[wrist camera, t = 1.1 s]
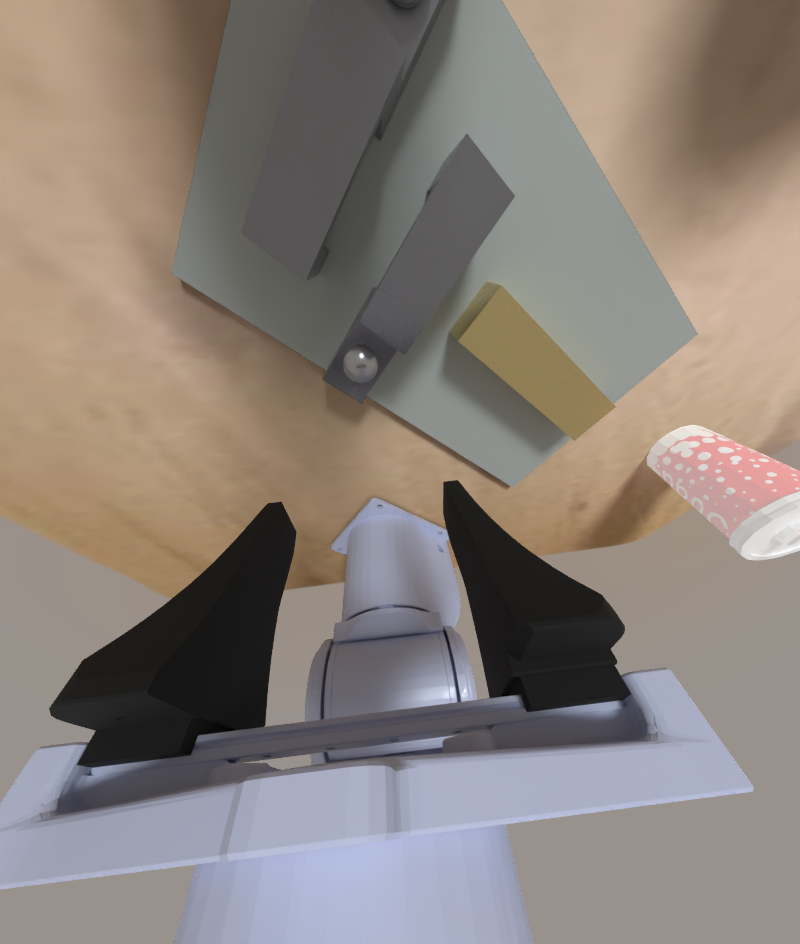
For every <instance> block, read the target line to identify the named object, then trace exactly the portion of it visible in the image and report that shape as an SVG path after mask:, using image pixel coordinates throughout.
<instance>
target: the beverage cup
mask: <svg viewBox="0 0 800 944" xmlns="http://www.w3.org/2000/svg"><path fill="white" fill-rule="evenodd" d="M647 465H648V466H649V467H650V468H651V469H652V470H654V471H655V472H656V473H657V474H658V475H659V476H660V477H661V478H662V479H664V480H665V481H666V482H667V483H668V484H669V485H670V486H671V487H672V488H673V489H675V490H676V491H677V492H678V493H679V494H680V495H681V496H682V497H683V498H685V499H686V500H687V501H688V502H689V503H690V504H691V505H692V506H693V507H695V508H696V509H697V510H698V511H699V512H700V513H701V514H702V515H703V516H705V517H706V518H707V519H708V520H709V521H710V522H711V523H712V524H713V525H715V526H716V527H717V528H718V529H719V530H720V531H721V532H722V533H723V534H724V535H726V536H727V537H728V538H729V539H730V542H729V545H731V546H732V547H733V548H735V549H736V551H737V552H738V553H740V554H741V555H742V556H743V557H744V558H746V559H748V560H765V559H770V558H776V557H781V556H784V555H787V554H790V553H793V552H796V551H799V550H800V471H799V470H797V469H795V468H792V467H790V466H788V465H786V464H784V463H781V462H779V461H777V460H774V459H772V458H770V457H768V456H766V455H764V454H761V453H759V452H757V451H755V450H753V449H750V448H748V447H746V446H744V445H742V444H739V443H737V442H735V441H733V440H731V439H728V438H726V437H724V436H722V435H719V434H717V433H715V432H713V431H711V430H708V429H706V428H704V427H702V426H697V425H690V426H685V427H681V428H678V429H676V430H674V431H672V432H670V433H668V434H667V435H666V436H664V437H663V438H661V439H660V440H659V441H658V442H657V443H656V444H655V445H654V446H653V447H652V449H651V450H650V452H649V454H648V456H647Z"/></svg>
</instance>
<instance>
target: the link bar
mask: <svg viewBox="0 0 800 944" xmlns="http://www.w3.org/2000/svg"><path fill="white" fill-rule="evenodd" d="M449 332H450V333H451V334H452V335H453V336H454V337H455V339H456V340H457V341H458V342H460V343H461V344H462V345H463V346H464V347H465V348H467V349H468V350H469V351H470V352H471V353H472V354H474V355H475V356H476V357H477V358H478V359H479V360H481V361H482V362H483V363H484V364H485V365H486V366H488V367H489V368H490V369H491V370H492V371H493V372H495V373H496V374H497V375H498V376H499V377H500V378H502V379H503V380H504V381H505V382H506V383H507V384H509V385H510V386H511V387H512V388H513V389H514V390H516V391H517V392H518V393H519V394H520V395H521V396H523V397H524V398H525V399H526V400H527V401H528V402H530V403H531V404H532V405H533V406H534V407H535V408H537V409H538V410H539V411H540V412H541V413H543V414H544V415H545V416H546V417H547V418H548V419H550V420H551V421H552V422H553V423H554V424H555V425H557V426H558V427H559V428H560V429H561V430H562V431H564V432H565V433H566V434H567V435H568V436H569V437H571V438H572V439H573V440H574V441H575V440H576V439H577V438H578V437H579V436H581V435H582V434H583V433H584V432H586V431H587V430H588V429H589V428H590V427H592V426H593V425H594V424H595V423H597V422H598V421H599V420H600V419H601V418H603V417H604V416H605V415H606V414H608V413H609V412H610V411H611V410H612V409H614V408H615V406H614V404H613V403H612V402H611V401H610V400H609V399H608V398H607V397H606V396H605V395H604V394H603V393H602V392H601V391H600V390H599V388H598V387H597V386H596V385H595V384H594V383H593V382H592V381H591V380H590V379H589V378H588V377H587V376H586V375H585V374H584V373H583V371H582V370H581V369H580V368H579V367H578V366H577V365H576V364H575V363H574V362H573V361H572V360H571V359H570V358H569V357H568V355H567V354H566V353H565V352H564V351H563V350H562V349H561V348H560V347H559V346H558V345H557V344H556V343H555V342H554V341H553V340H552V338H551V337H550V336H549V335H548V334H547V333H546V332H545V331H544V330H543V329H542V328H541V327H540V326H539V325H538V324H537V323H536V321H535V320H534V319H533V318H532V317H531V316H530V315H529V314H528V313H527V312H526V311H525V310H524V309H523V308H522V307H521V305H520V304H519V303H518V302H517V301H516V300H515V299H514V298H513V297H512V296H511V295H510V294H509V293H508V292H507V291H506V290H505V288H504V287H503V286H502V285H498V284H495V283H491V282H488V281H486V283H485V284H484V285H483V287H482V288H481V289H480V291H479V292H478V293H477V295H476V296H475V298H474V299H473V300H472V302H471V303H470V304H469V306H468V307H467V308H466V310H465V311H464V312H463V314H462V315H461V316H460V318H459V319H458V320H457V322H456V323H455V324H454V326H453V327H452V328H451V330H450V331H449Z"/></svg>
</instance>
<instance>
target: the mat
mask: <svg viewBox="0 0 800 944" xmlns="http://www.w3.org/2000/svg"><path fill="white" fill-rule="evenodd" d="M313 1H314V0H231V2H230V7H229V11H228V16H227V21H226V25H225V30H224V34H223V39H222V43H221V48H220V53H219V57H218V62H217V66H216V71H215V76H214V80H213V85H212V89H211V94H210V98H209V103H208V108H207V112H206V117H205V121H204V126H203V131H202V135H201V140H200V144H199V149H198V154H197V158H196V163H195V167H194V172H193V176H192V181H191V186H190V190H189V195H188V199H187V204H186V209H185V213H184V218H183V222H182V227H181V231H180V236H179V241H178V245H177V250H176V254H175V259H174V264H173V268H172V273H171V274H173V275H174V276H176V277H178V278H179V279H181V280H182V281H184V282H186V283H187V284H189V285H190V286H192V287H194V288H195V289H197V290H198V291H200V292H202V293H203V294H205V295H206V296H208V297H210V298H211V299H213V300H214V301H216V302H218V303H219V304H221V305H222V306H224V307H225V308H227V309H229V310H230V311H232V312H233V313H235V314H237V315H238V316H240V317H241V318H243V319H245V320H246V321H248V322H249V323H251V324H253V325H254V326H256V327H257V328H259V329H261V330H262V331H264V332H265V333H267V334H269V335H270V336H272V337H273V338H275V339H277V340H278V341H280V342H281V343H283V344H284V345H286V346H288V347H289V348H291V349H292V350H294V351H296V352H297V353H299V354H300V355H302V356H304V357H305V358H307V359H308V360H310V361H312V362H313V363H315V364H316V365H318V366H320V367H321V368H323V369H324V370H327V368H328V366H329V364H330V362H331V361H332V359H333V357H334V355H335V353H336V352H337V350H338V348H339V346H340V345H341V343H342V341H343V339H344V337H345V336H346V334H347V332H348V330H349V329H350V327H351V325H352V323H353V322H354V320H355V318H356V316H357V314H358V313H359V311H360V309H361V307H362V306H363V304H364V302H365V300H366V298H367V297H368V295H369V293H370V291H371V290H372V288H373V286H374V287H375V288H377V286H378V284H379V283H380V281H381V279H382V277H383V276H384V274H385V272H386V270H387V269H388V267H389V265H390V263H391V262H392V260H393V258H394V256H395V255H396V253H397V251H398V249H399V248H400V246H401V244H402V242H403V241H404V239H405V237H406V235H407V234H408V232H409V230H410V228H411V227H412V225H413V223H414V221H415V220H416V218H417V216H418V214H419V213H420V211H421V209H422V207H423V206H424V204H425V202H426V200H427V199H428V197H429V194H428V193H427V190H428V188H429V187H430V185H431V183H432V181H433V180H434V178H435V176H436V174H437V172H438V171H439V169H440V167H441V165H442V164H443V162H444V160H445V159H446V158H447V157H448V155H449V154H450V153H451V152H452V151H453V149H454V148H455V147H456V146H457V145H458V143H459V142H460V141H461V140H462V138H463V137H464V136H465V135H466V134H468V135H469V136H470V138H471V139H472V140H473V142H474V143H475V144H476V146H477V147H478V148H479V150H480V151H481V152H482V153H483V155H484V156H485V157H486V159H487V160H488V161H489V163H490V164H491V165H492V166H493V168H494V169H495V170H496V172H497V173H498V174H499V176H500V177H501V178H502V180H503V181H504V182H505V183H506V185H507V186H508V187H509V189H510V190H511V191H512V193H513V194H514V195H515V197H514V199H513V200H512V202H511V203H510V204H509V206H508V207H507V209H506V210H505V212H504V213H503V215H502V216H501V217H500V219H499V220H498V222H497V223H496V225H495V226H494V227H493V229H492V230H491V232H490V233H489V235H488V236H487V237H486V239H485V240H484V242H483V243H482V245H481V246H480V248H479V249H478V250H477V252H476V253H475V255H474V256H473V258H472V259H471V260H470V262H469V263H468V265H467V266H466V268H465V269H464V270H463V272H462V273H461V275H460V276H459V278H458V279H457V281H456V282H455V283H454V285H453V286H452V288H451V289H450V291H449V292H448V293H447V295H446V296H445V298H444V299H443V301H442V302H441V303H440V305H439V306H438V308H437V309H436V311H435V312H434V314H433V315H432V316H431V318H430V319H429V321H428V322H427V324H426V325H425V326H424V328H423V329H422V331H421V332H420V334H419V335H418V336H417V338H416V339H415V341H414V342H413V344H412V345H411V347H410V348H409V349H408V351H407V352H406V354H405V355H403V354H402V353H401V352H399V351H398V350H397V351H396V353H395V354H394V356H393V357H392V359H391V360H390V362H389V363H388V365H387V366H386V368H385V369H384V371H383V372H382V374H381V375H380V377H379V378H378V380H377V381H376V382H375V384H374V385H373V387H372V388H371V390H370V391H369V393H368V394H367V397H369V398H371V399H372V400H374V401H375V402H377V403H379V404H380V405H382V406H383V407H385V408H387V409H388V410H390V411H391V412H393V413H395V414H396V415H398V416H399V417H401V418H403V419H404V420H406V421H407V422H409V423H410V424H412V425H414V426H415V427H417V428H418V429H420V430H422V431H423V432H425V433H426V434H428V435H430V436H431V437H433V438H434V439H436V440H438V441H439V442H441V443H442V444H444V445H446V446H447V447H449V448H450V449H452V450H454V451H455V452H457V453H458V454H460V455H462V456H463V457H465V458H466V459H468V460H470V461H471V462H473V463H474V464H476V465H477V466H479V467H481V468H482V469H484V470H485V471H487V472H489V473H490V474H492V475H493V476H495V477H497V478H498V479H500V480H501V481H503V482H505V483H506V484H508V485H509V486H511V487H514V486H515V485H516V484H517V483H518V482H520V481H521V480H522V479H523V478H524V477H526V476H527V475H528V474H529V473H531V472H532V471H533V470H534V469H535V468H537V467H538V466H539V465H540V464H541V463H543V462H544V461H545V460H546V459H547V458H549V457H550V456H551V455H552V454H553V453H555V452H556V451H557V450H558V449H560V448H561V447H562V446H563V445H564V444H566V443H567V442H568V441H569V440H570V439H572V438H571V437H569V436H568V435H567V434H566V433H565V432H564V431H562V430H561V429H560V428H559V427H558V426H557V425H555V424H554V423H553V422H552V421H551V420H550V419H548V418H547V417H546V416H545V415H544V414H543V413H541V412H540V411H539V410H538V409H537V408H535V407H534V406H533V405H532V404H531V403H530V402H528V401H527V400H526V399H525V398H524V397H523V396H521V395H520V394H519V393H518V392H517V391H516V390H514V389H513V388H512V387H511V386H510V385H509V384H507V383H506V382H505V381H504V380H503V379H502V378H500V377H499V376H498V375H497V374H496V373H495V372H493V371H492V370H491V369H490V368H489V367H488V366H486V365H485V364H484V363H483V362H482V361H481V360H479V359H478V358H477V357H476V356H475V355H474V354H472V353H471V352H470V351H469V350H468V349H467V348H465V347H464V346H463V345H462V344H461V343H460V342H458V341H457V340H456V339H455V337H454V336H453V335H452V334H451V333H450V332H449V331H450V330H451V328H452V327H453V326H454V324H455V323H456V322H457V320H458V319H459V318H460V316H461V315H462V314H463V312H464V311H465V310H466V308H467V307H468V306H469V304H470V303H471V302H472V300H473V299H474V298H475V296H476V295H477V293H478V292H479V291H480V289H481V288H482V287H483V285H484V284H485V283H486V281H488V282H491V283H495V284H498V285H502V286H503V287H504V288H505V290H506V291H507V292H508V293H509V294H510V295H511V296H512V297H513V298H514V299H515V300H516V301H517V302H518V303H519V304H520V305H521V307H522V308H523V309H524V310H525V311H526V312H527V313H528V314H529V315H530V316H531V317H532V318H533V319H534V320H535V321H536V323H537V324H538V325H539V326H540V327H541V328H542V329H543V330H544V331H545V332H546V333H547V334H548V335H549V336H550V337H551V338H552V340H553V341H554V342H555V343H556V344H557V345H558V346H559V347H560V348H561V349H562V350H563V351H564V352H565V353H566V354H567V355H568V357H569V358H570V359H571V360H572V361H573V362H574V363H575V364H576V365H577V366H578V367H579V368H580V369H581V370H582V371H583V373H584V374H585V375H586V376H587V377H588V378H589V379H590V380H591V381H592V382H593V383H594V384H595V385H596V386H597V387H598V388H599V390H600V391H601V392H602V393H603V394H604V395H605V396H606V397H607V398H608V399H609V400H610V401H611V402H612V403H613V404H614V403H615V402H616V401H618V400H619V399H620V398H621V397H622V396H624V395H625V394H626V393H627V392H628V391H630V390H631V389H632V388H633V387H634V386H636V385H637V384H638V383H639V382H641V381H642V380H643V379H644V378H645V377H647V376H648V375H649V374H650V373H651V372H653V371H654V370H655V369H656V368H657V367H659V366H660V365H661V364H662V363H663V362H665V361H666V360H667V359H668V358H670V357H671V356H672V355H673V354H674V353H676V352H677V351H678V350H679V349H680V348H682V347H683V346H684V345H685V344H686V343H688V342H689V341H690V340H691V339H692V338H694V337H695V336H696V335H697V332H696V330H695V328H694V327H693V325H692V323H691V322H690V320H689V318H688V316H687V315H686V313H685V311H684V310H683V308H682V306H681V305H680V303H679V301H678V299H677V298H676V296H675V294H674V293H673V291H672V289H671V288H670V286H669V284H668V282H667V281H666V279H665V277H664V276H663V274H662V272H661V270H660V269H659V267H658V265H657V264H656V262H655V260H654V259H653V257H652V255H651V253H650V252H649V250H648V248H647V247H646V245H645V243H644V242H643V240H642V238H641V236H640V235H639V233H638V231H637V230H636V228H635V226H634V224H633V223H632V221H631V219H630V218H629V216H628V214H627V213H626V211H625V209H624V207H623V206H622V204H621V202H620V201H619V199H618V197H617V196H616V194H615V192H614V190H613V189H612V187H611V185H610V184H609V182H608V180H607V179H606V177H605V175H604V173H603V172H602V170H601V168H600V167H599V165H598V163H597V161H596V160H595V158H594V156H593V155H592V153H591V151H590V150H589V148H588V146H587V144H586V143H585V141H584V139H583V138H582V136H581V134H580V133H579V131H578V129H577V127H576V126H575V124H574V122H573V121H572V119H571V117H570V115H569V114H568V112H567V110H566V109H565V107H564V105H563V104H562V102H561V100H560V98H559V97H558V95H557V93H556V92H555V90H554V88H553V87H552V85H551V83H550V81H549V80H548V78H547V76H546V75H545V73H544V71H543V69H542V68H541V66H540V64H539V63H538V61H537V59H536V58H535V56H534V54H533V52H532V51H531V49H530V47H529V46H528V44H527V42H526V41H525V39H524V37H523V35H522V34H521V32H520V30H519V29H518V27H517V25H516V24H515V22H514V20H513V18H512V17H511V15H510V13H509V12H508V10H507V8H506V6H505V5H504V3H503V1H502V0H445V3H444V5H443V7H442V9H441V11H440V13H439V16H438V18H437V20H436V22H435V24H434V26H433V28H432V31H431V33H430V35H429V37H428V39H427V41H426V44H425V46H424V48H423V50H422V52H421V54H420V57H419V59H418V61H417V63H416V65H415V67H414V70H413V72H412V74H411V76H410V78H409V80H408V83H407V85H406V87H405V89H404V91H403V93H402V96H401V98H400V100H399V102H398V104H397V106H396V109H395V111H394V113H393V115H392V117H391V119H390V122H389V124H388V126H387V128H386V130H385V132H384V134H383V137H382V139H381V141H379V139H378V138H377V137H376V136H375V135H374V136H373V139H372V141H371V143H370V145H369V148H368V150H367V152H366V154H365V156H364V159H363V161H362V163H361V165H360V168H359V170H358V172H357V174H356V176H355V179H354V181H353V183H352V185H351V188H350V190H349V192H348V194H347V196H346V199H345V201H344V203H343V205H342V208H341V210H340V212H339V214H338V216H337V219H336V221H335V223H334V225H333V228H332V230H331V232H330V234H329V236H328V239H327V241H326V243H325V245H324V246H325V247H326V248H328V249H329V250H330V251H329V253H328V256H327V258H326V260H325V262H324V264H323V266H322V269H321V271H320V273H319V275H317V276H315V277H313V278H311V279H309V280H307V281H304V280H303V279H302V278H300V277H299V276H297V275H296V274H295V273H293V272H292V271H291V270H289V269H288V268H287V267H285V266H284V265H283V264H281V263H280V262H279V261H277V260H276V259H275V258H273V257H272V256H271V255H269V254H268V253H267V252H265V251H264V250H263V249H261V248H260V247H259V246H257V245H256V244H255V243H253V242H252V241H251V240H249V239H248V238H247V237H245V236H244V235H243V234H241V231H242V228H243V225H244V222H245V218H246V215H247V212H248V209H249V206H250V202H251V199H252V196H253V193H254V190H255V186H256V183H257V180H258V177H259V174H260V170H261V167H262V164H263V161H264V158H265V154H266V151H267V148H268V145H269V142H270V138H271V135H272V132H273V129H274V126H275V122H276V119H277V116H278V113H279V110H280V106H281V103H282V100H283V97H284V94H285V90H286V87H287V84H288V81H289V78H290V74H291V71H292V68H293V65H294V62H295V58H296V55H297V52H298V49H299V45H300V42H301V39H302V36H303V33H304V29H305V26H306V23H307V20H308V17H309V13H310V10H311V7H312V4H313Z"/></svg>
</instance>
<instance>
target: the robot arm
mask: <svg viewBox="0 0 800 944" xmlns="http://www.w3.org/2000/svg"><path fill="white" fill-rule="evenodd" d="M378 505H381V506H378ZM443 515H444V519H445V524H446V529H447V530H446V529H444V528H441V527H439V526H437V525H435V524H433V523H431V522H428V521H426V520H424V519H422V518H420V517H417V516H415V515H413V514H411V513H409V512H407V511H404V510H402V509H400V508H398V507H396V506H394V505H391V504H389V503H387V502H385V501H383V500H381V499H378V498H372V499H370V500H369V501H368V503H367V504H366V505H365V506H364V507H363V508H362V510H361V511H360V512H359V513H358V514H357V515H356V516H355V518H354V519H353V520H352V521H351V522H350V523H349V524H348V526H347V527H346V528H345V529H344V530H343V531H342V532H341V534H340V535H339V536H338V537H337V538H336V539H335V540H334V542H333V543H332V544H331V549H332V550H333V551H336V552H339V553H342V554H345V555H347V561H346V573H345V587H344V600H343V612H342V622H340V623H336V624H335V628H334V638H333V639H328V640H326V641H324V643H323V644H322V645H321V647H320V649H319V650H318V651H317V653H316V654H315V656H314V658H313V661H312V664H311V668H310V673H309V677H308V683H307V691H306V703H305V722H300V723H291V724H283V725H276V726H268V727H264V726H265V721H266V707H267V694H268V683H269V674H270V665H271V655H272V649H273V642H274V635H275V629H276V623H277V616H278V611H279V606H280V602H281V598H282V594H283V591H284V587H285V584H286V580H287V576H288V573H289V569H290V565H291V562H292V558H293V554H294V547H295V539H296V530H295V528H294V526H293V524H292V522H291V520H290V518H289V516H288V514H287V512H286V510H285V508H284V506H283V504H282V502H276V503H268V504H267V505H266V506H265V507H264V508H263V509H262V510H261V511H260V513H259V514H258V515H257V516H256V517H255V518H254V519H253V521H252V522H251V523H250V524H249V525H248V526H247V527H246V529H245V530H244V531H243V532H242V533H241V534H240V535H239V536H238V538H237V539H236V540H235V541H234V542H233V543H232V544H231V545H230V546H229V547H228V548H227V549H226V550H225V551H224V552H223V553H222V554H221V555H220V556H219V557H218V558H217V560H216V561H215V562H214V563H213V564H211V565H210V566H209V567H208V568H207V569H206V570H205V571H204V572H203V573H202V574H201V575H200V576H199V577H197V578H196V579H195V580H194V581H193V582H192V583H191V584H189V585H188V586H187V587H186V588H185V589H183V590H182V591H181V592H180V593H178V594H177V595H176V596H175V597H173V598H172V599H171V600H170V601H169V602H167V603H166V604H165V605H164V606H162V607H161V608H160V609H158V610H157V611H156V612H154V613H153V614H152V615H150V616H149V617H147V618H146V619H145V620H144V621H142V622H140V623H139V624H138V625H136V626H135V627H133V628H132V629H130V630H129V631H128V632H126V633H125V634H123V635H122V636H120V637H119V638H117V639H115V640H114V641H112V642H111V643H109V644H108V645H106V646H105V647H103V648H102V649H100V650H98V651H97V652H95V653H94V654H92V655H91V656H89V657H88V658H86V659H84V660H83V661H82V662H81V664H80V665H79V667H78V668H77V670H76V671H75V672H74V674H73V676H72V677H71V678H70V680H69V681H68V682H67V684H66V685H65V687H64V688H63V690H62V691H61V692H60V694H59V695H58V697H57V698H56V700H55V701H54V703H53V704H52V705H51V707H50V708H49V709H50V713H51V716H53V717H54V718H56V719H59V720H62V721H64V722H67V723H71V724H74V725H78V726H82V727H85V728H89V729H92V730H96V732H95V733H94V735H93V737H92V739H91V740H90V742H89V743H86V742H83V743H82V742H76V743H67V744H59V745H51V746H43V747H40V748H38V749H37V750H36V751H35V752H34V754H33V755H32V757H31V759H30V760H29V761H28V763H27V764H26V766H25V767H24V769H23V770H22V772H21V773H20V775H19V776H18V778H17V779H16V781H15V782H14V784H13V785H12V787H11V788H10V790H9V791H8V793H7V794H6V796H5V797H4V799H3V800H2V802H1V803H0V889H6V888H14V887H22V886H30V885H38V884H46V883H54V882H61V881H69V880H77V879H85V878H93V877H101V876H109V875H117V874H124V873H133V872H140V871H148V870H156V869H164V868H172V867H180V866H188V865H196V866H195V869H194V873H193V876H192V880H191V883H190V887H189V890H188V894H187V898H186V901H185V904H184V908H183V911H182V915H181V918H180V922H179V925H178V929H177V933H176V936H175V940H174V943H173V944H534V943H533V939H532V935H531V931H530V927H529V922H528V918H527V914H526V909H525V905H524V901H523V897H522V893H521V888H520V884H519V879H518V875H517V871H516V867H515V863H514V858H513V854H512V850H511V845H510V841H509V837H508V832H507V828H506V824H510V823H517V822H525V821H532V820H540V819H547V818H555V817H563V816H570V815H577V814H585V813H592V812H600V811H608V810H615V809H623V808H630V807H638V806H645V805H653V804H660V803H668V802H675V801H682V800H690V799H697V798H706V797H713V796H721V795H729V794H736V793H743V792H752V791H753V788H754V787H753V785H752V784H751V782H750V781H749V780H748V778H747V777H746V776H745V774H744V773H743V771H742V770H741V768H740V767H739V766H738V764H737V763H736V761H735V760H734V759H733V757H732V756H731V754H730V753H729V752H728V750H727V749H726V747H725V746H724V744H723V743H722V742H721V740H720V739H719V738H718V736H717V735H716V733H715V732H714V730H713V729H712V728H711V726H710V725H709V723H708V722H707V721H706V719H705V718H704V716H703V715H702V714H701V712H700V711H699V709H698V708H697V707H696V705H695V704H694V702H693V701H692V700H691V699H690V697H689V695H688V694H687V693H686V691H685V690H684V688H683V687H682V686H681V685H680V683H679V681H678V680H677V679H676V677H675V676H674V675H673V673H672V672H671V670H670V669H668V668H657V669H649V670H641V671H634V672H629V673H626V674H623V675H621V676H620V674H619V672H618V670H617V669H616V667H615V664H617V660H616V658H615V656H614V655H613V653H612V651H611V648H612V647H613V646H614V644H615V643H616V642H617V641H618V640H619V639H620V638H621V637H622V635H623V634H624V631H625V626H624V624H623V623H622V621H621V620H620V619H619V617H618V615H617V614H616V612H615V611H614V610H613V608H612V607H611V606H610V604H609V603H608V602H607V601H606V600H605V598H604V597H603V596H602V595H601V594H599V593H598V592H596V591H594V590H592V589H590V588H588V587H586V586H585V585H583V584H580V583H579V582H577V581H575V580H573V579H572V578H570V577H568V576H566V575H565V574H563V573H562V572H560V571H558V570H557V569H555V568H553V567H552V566H550V565H549V564H548V563H546V562H545V561H543V560H542V559H540V558H539V557H537V556H536V555H534V554H533V553H531V552H530V551H529V550H528V549H526V548H525V547H524V546H522V545H521V544H520V543H518V542H517V541H516V540H515V539H514V538H512V537H511V536H510V535H509V534H508V533H506V532H505V531H504V530H503V529H502V528H501V527H500V526H499V525H498V524H497V523H496V522H495V521H493V520H492V519H491V518H490V517H489V516H488V515H487V513H486V512H485V511H484V510H483V509H482V508H481V507H480V506H479V505H478V504H477V503H476V502H475V501H474V499H473V498H472V497H471V496H470V495H469V493H468V492H467V491H466V490H465V489H464V487H463V486H462V485H461V483H460V482H459V481H458V480H455V481H447V482H444V490H443ZM449 539H450V542H451V545H452V548H453V551H454V554H455V557H456V560H457V563H458V566H459V569H460V571H461V574H462V577H463V580H464V584H465V587H466V591H467V595H468V599H469V604H470V608H471V612H472V616H473V621H474V625H475V630H476V634H477V638H478V643H479V648H480V653H481V657H482V661H483V667H484V672H485V677H486V681H487V686H488V691H489V697H490V698H488V699H480V700H477V695H476V690H475V684H474V678H473V674H472V669H471V665H470V661H469V657H468V654H467V650H466V647H465V644H464V642H463V639H462V637H461V636H460V635H459V634H458V633H457V632H456V631H455V630H454V628H455V626H456V624H457V621H458V618H459V613H460V604H461V603H460V602H461V600H460V592H459V588H458V584H457V581H456V577H455V573H454V569H453V565H452V561H451V557H450V553H449V549H448V545H447V541H448V540H449ZM306 754H310V756H311V765H310V766H304V767H297V768H291V769H285V770H279V769H276V768H273V767H270V766H269V765H268V764H267V763H243V762H251V761H259V760H266V759H274V758H282V757H290V756H298V755H306Z"/></svg>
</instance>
